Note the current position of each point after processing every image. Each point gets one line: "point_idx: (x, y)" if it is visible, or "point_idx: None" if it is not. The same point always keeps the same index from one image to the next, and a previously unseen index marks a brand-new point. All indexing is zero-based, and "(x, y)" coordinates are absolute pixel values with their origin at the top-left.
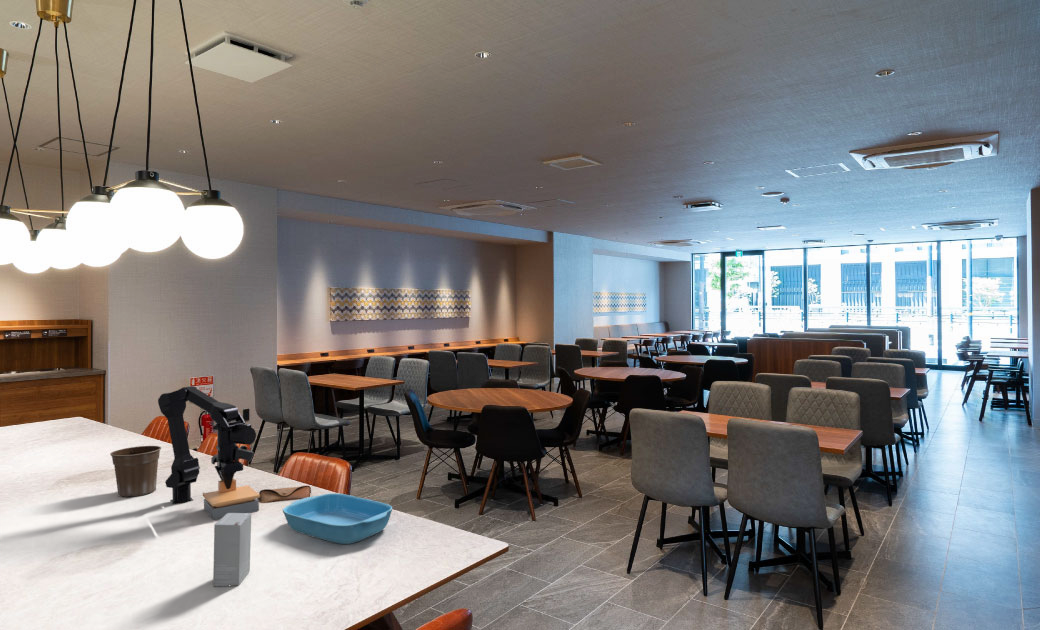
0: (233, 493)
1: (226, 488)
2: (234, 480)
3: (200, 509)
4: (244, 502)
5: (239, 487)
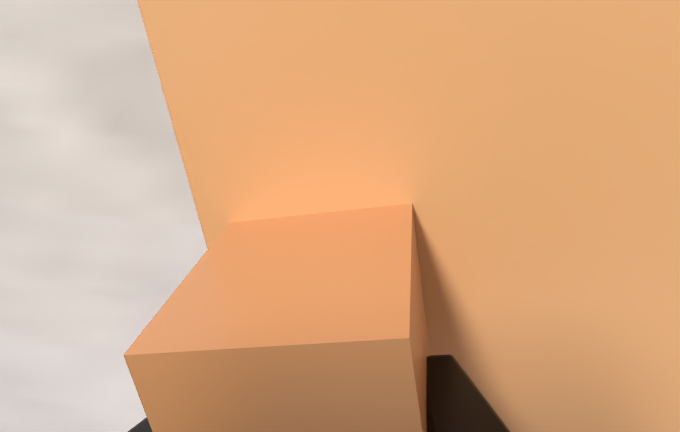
0: (646, 280)
1: None
2: (412, 378)
3: None
4: None
5: (221, 116)
